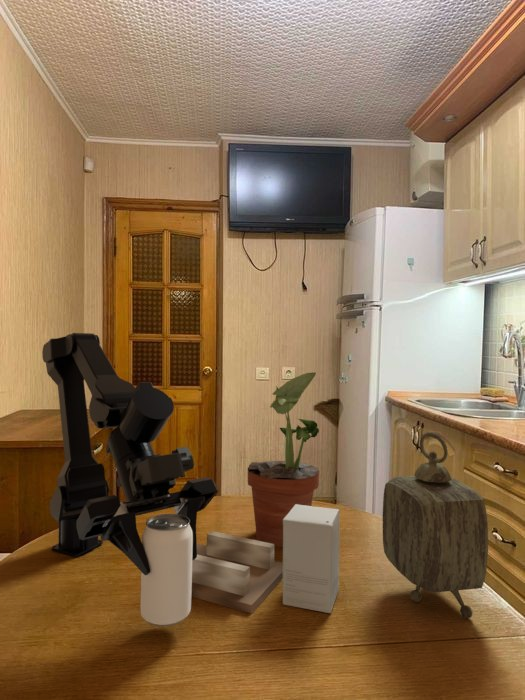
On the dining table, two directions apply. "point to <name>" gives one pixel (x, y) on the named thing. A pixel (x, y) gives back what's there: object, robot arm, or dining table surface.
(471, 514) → the tabletop clock
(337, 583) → the supplement box
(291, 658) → the dining table surface
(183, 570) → the can
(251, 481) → the potted plant
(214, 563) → the slot block
